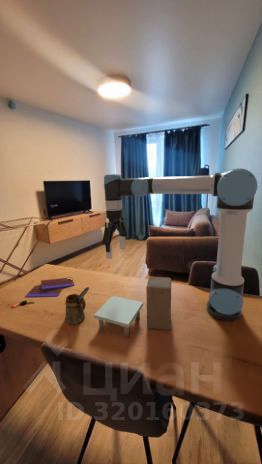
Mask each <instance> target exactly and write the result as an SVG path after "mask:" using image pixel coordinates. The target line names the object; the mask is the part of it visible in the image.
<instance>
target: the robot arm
mask: <svg viewBox="0 0 262 464" xmlns="http://www.w3.org/2000/svg"><path fill="white" fill-rule="evenodd" d="M103 188H104V200H105V203H104V204H105V209H106V210H105V217H106V219H108V222H104V231H103V236H102V242H101V244H102V245H104V247H105V257H106V259H109V260H110V259H111V260H112V259H113V247H112V244H111V243H112V239H113V237H114V233H116V231H117V232H118V234H119V235H120V236H119V237H118V238H119V249H120V250H125V249H126V237H127V236H128V232H127V228H126V225H125V221H124V220H125V219H124V216H123V210H122V209H123V198H122V197H137V198H139V197H145V196H147V195H155V194H156V195H158V194H159V195H161V194H162V195H168V194H169V195H211V196H212V197H217V200H216V209H217V210H218V211H219V212H220V217H219V231H218V241H217V242H218V244H217V255H216V256H217V257H216V264H215V265H214V266H213V267H212V268H213V269H212V274H211V279H210V293H209V296H208V300H207V302H206V311H207V312H208V313H209V315H211V316H212V317H214V318H216V319H218V320H220V321H226V322H231V321H232V322H233V321H234V320H235V321H238V320H239V319H240V318H241V317H242V313H243V312H242V311H243V310H242V309H243V306H244V298H243V296H244V295H243V294H244V286H245V278H244V277H243V276H242V274H243V273H242V262H243V254H244V244H245V234H246V227H247V219H248V218H247V217H248V214H249V212H251V211H252V210H253V208H254V201H255V195H256V194H257V191H258V181H257V178H256V176H255V175H254V173H252V172H251V171H250V170H248V169H245V168H238V167H237V168H232V169H229V170H227V171H224V172H222V171H221V172H214V173H213V174H212V175H190V176H189V175H188V176H184V175H183V176H160V177H158V176H157V177H156V176H155V177H137V178H136V177H133V178H122V175H121V174H119V173H118V174H114V173H113V174H105V175H104V177H103ZM237 319H238V320H237ZM235 321H234V322H235Z"/></svg>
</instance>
